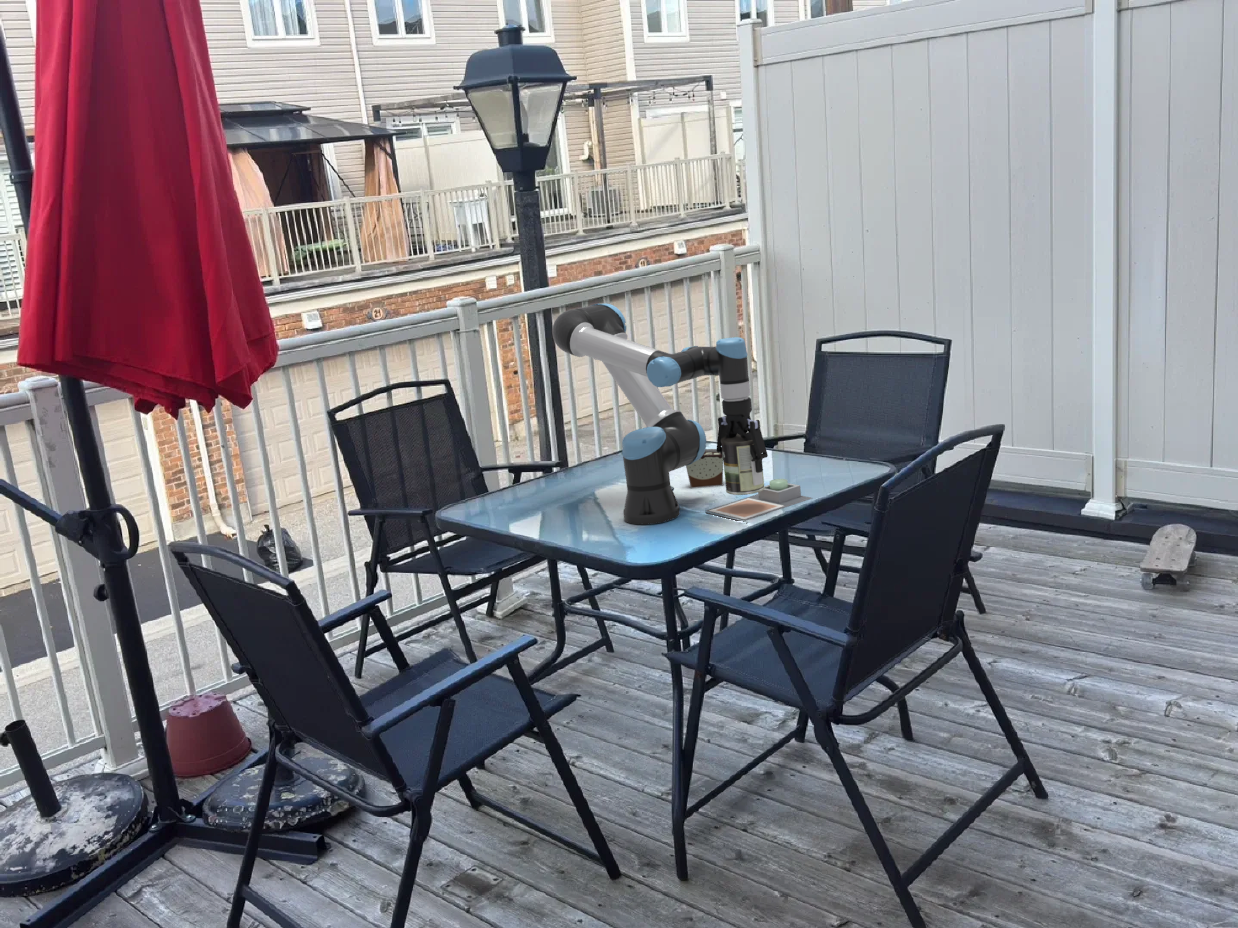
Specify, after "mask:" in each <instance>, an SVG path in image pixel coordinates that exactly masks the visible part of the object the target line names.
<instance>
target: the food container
mask: <svg viewBox="0 0 1238 928" xmlns="http://www.w3.org/2000/svg"><path fill="white" fill-rule="evenodd" d="M685 468H686V473H687V476H688V482H689V486H690V487H689V488H690V489H699V488H700V489H701V488H710V487H723V486H724V463H723V455H722V454H721V453H720V452H717V448H706V449H705V452H704V454H703V456H702V457H701V458H700V459H699V460H697V461H695V462H693V463H692V464H691V465H687V466H685Z"/></svg>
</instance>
